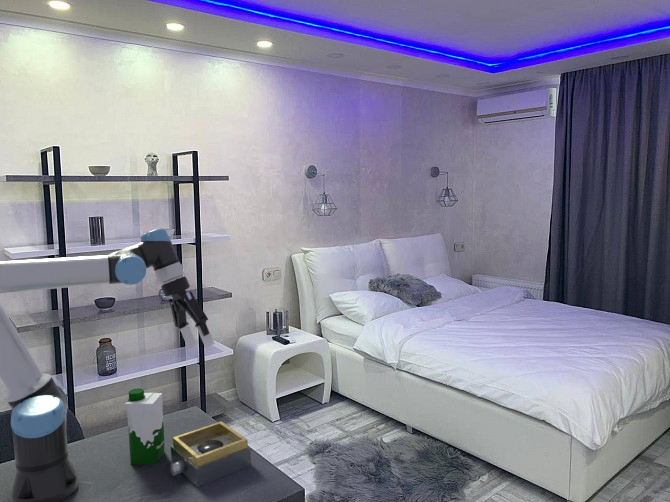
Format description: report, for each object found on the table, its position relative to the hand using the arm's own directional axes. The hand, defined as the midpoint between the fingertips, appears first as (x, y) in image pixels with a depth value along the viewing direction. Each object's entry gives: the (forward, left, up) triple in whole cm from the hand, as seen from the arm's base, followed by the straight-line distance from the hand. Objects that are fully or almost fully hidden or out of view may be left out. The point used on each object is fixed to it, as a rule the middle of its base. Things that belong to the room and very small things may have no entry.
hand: (200, 346), depth 154 cm
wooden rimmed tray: (-6, -13, -30) cm, 33 cm away
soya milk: (-17, +2, -30) cm, 34 cm away
